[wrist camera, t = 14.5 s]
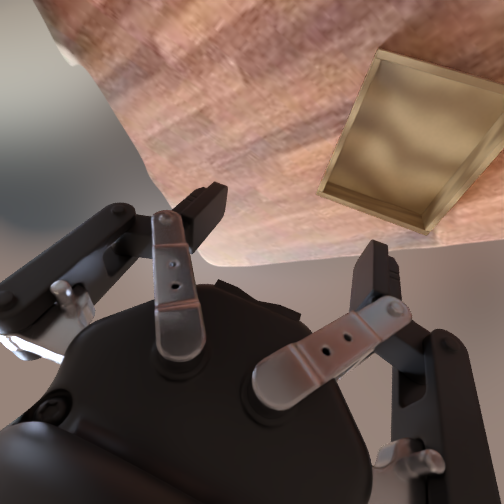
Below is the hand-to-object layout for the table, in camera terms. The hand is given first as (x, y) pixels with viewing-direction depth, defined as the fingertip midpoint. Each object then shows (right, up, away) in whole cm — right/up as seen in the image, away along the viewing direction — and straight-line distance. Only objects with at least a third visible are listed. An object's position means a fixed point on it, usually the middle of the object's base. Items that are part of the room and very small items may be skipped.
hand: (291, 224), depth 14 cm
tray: (+17, +12, +19) cm, 28 cm away
